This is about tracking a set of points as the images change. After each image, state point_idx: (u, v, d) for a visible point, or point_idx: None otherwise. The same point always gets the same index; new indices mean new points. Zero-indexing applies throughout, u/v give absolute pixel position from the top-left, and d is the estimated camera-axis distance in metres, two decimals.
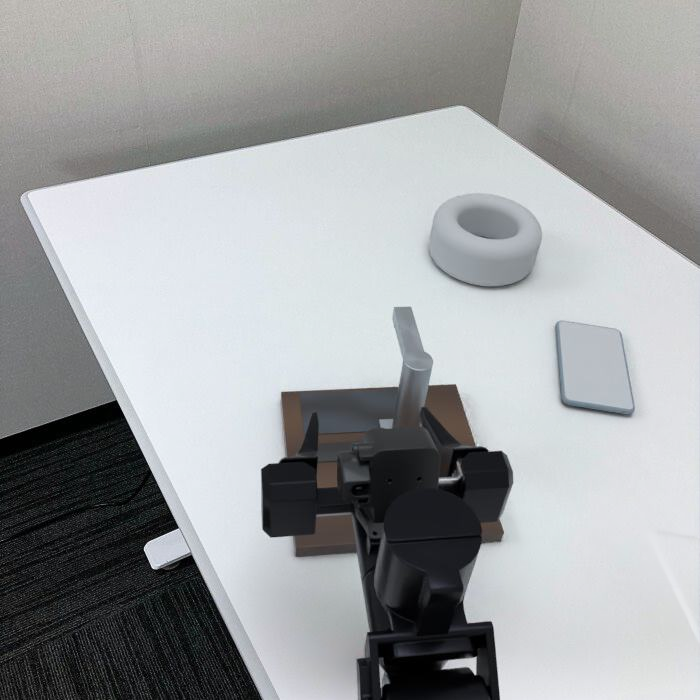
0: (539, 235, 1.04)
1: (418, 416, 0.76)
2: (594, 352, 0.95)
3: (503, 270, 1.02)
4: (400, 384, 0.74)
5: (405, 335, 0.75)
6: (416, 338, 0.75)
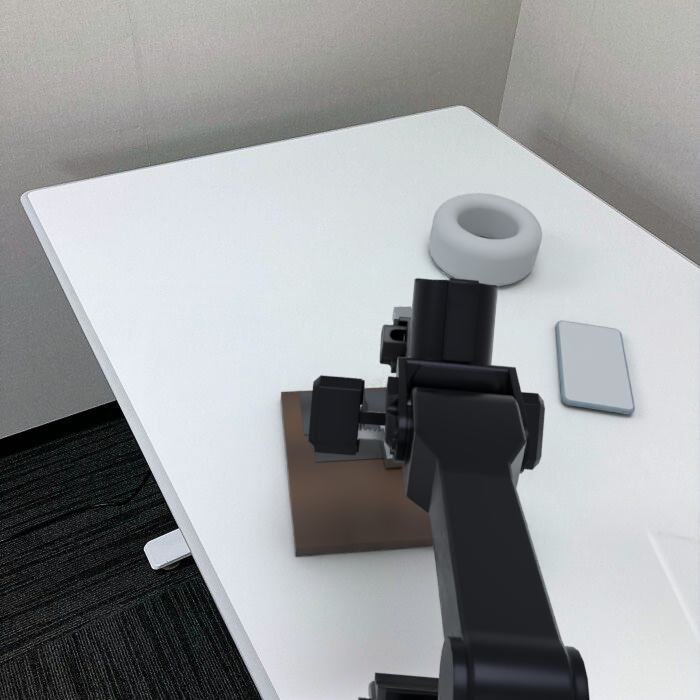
0: (539, 235, 1.04)
1: None
2: (594, 352, 0.95)
3: (503, 270, 1.02)
4: None
5: None
6: None
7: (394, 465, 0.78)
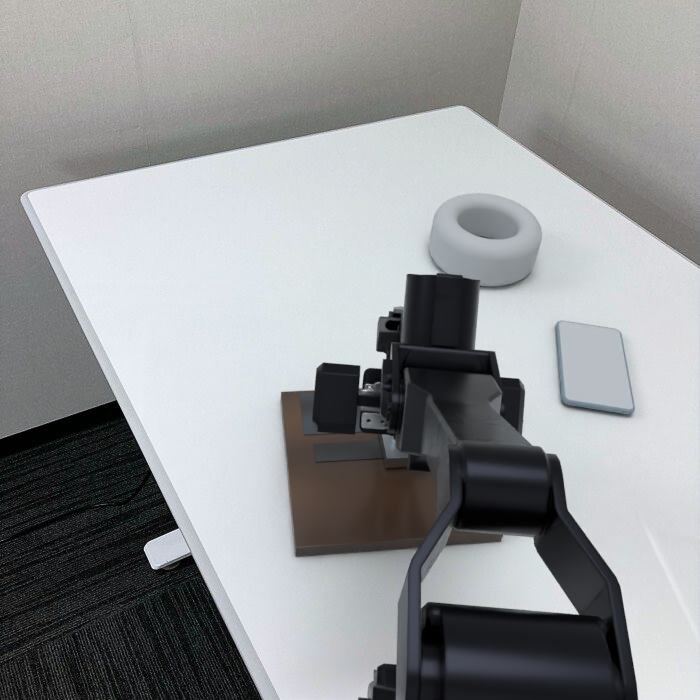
0: (539, 235, 1.04)
1: None
2: (594, 352, 0.95)
3: (503, 270, 1.02)
4: None
5: None
6: None
7: (394, 465, 0.78)
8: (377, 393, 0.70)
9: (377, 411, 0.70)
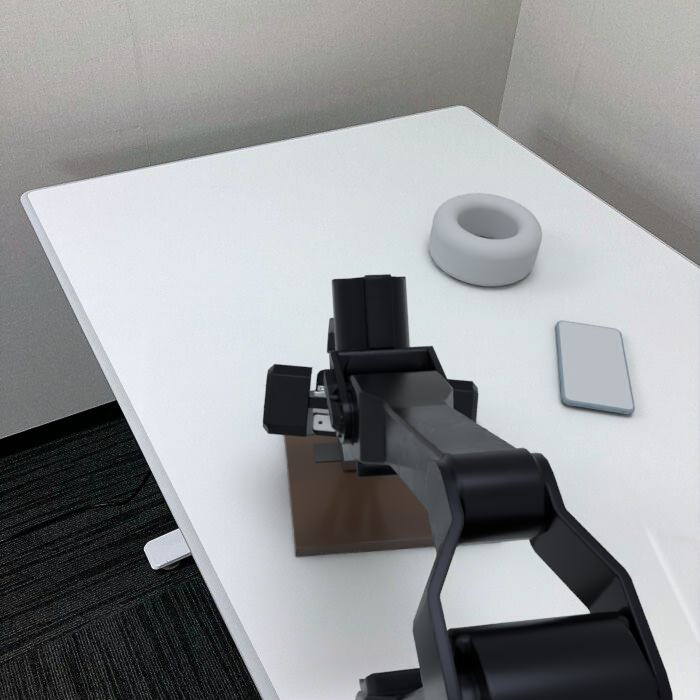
0: (539, 235, 1.04)
1: None
2: (594, 352, 0.95)
3: (503, 270, 1.02)
4: None
5: None
6: None
7: (352, 467, 0.78)
8: None
9: None
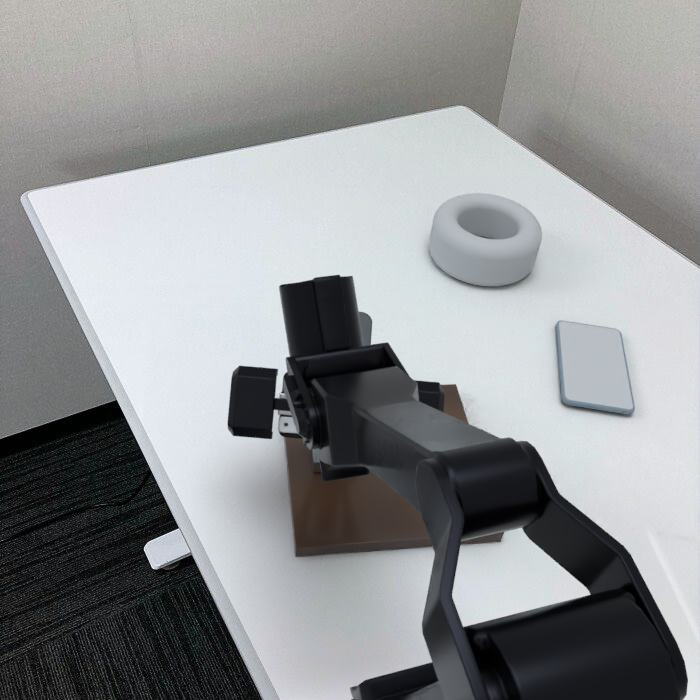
0: (539, 235, 1.04)
1: None
2: (594, 352, 0.95)
3: (503, 270, 1.02)
4: None
5: None
6: None
7: None
8: None
9: None
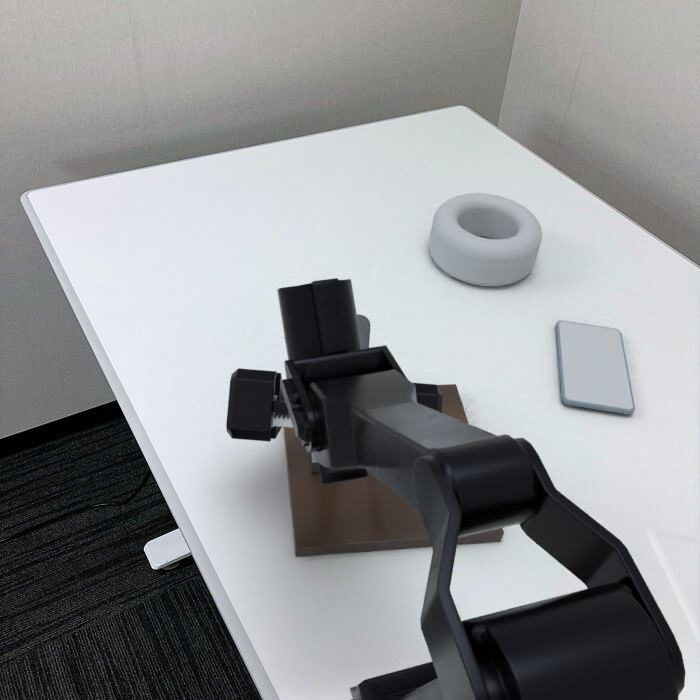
0: (539, 235, 1.04)
1: None
2: (594, 352, 0.95)
3: (503, 270, 1.02)
4: None
5: None
6: None
7: None
8: None
9: None
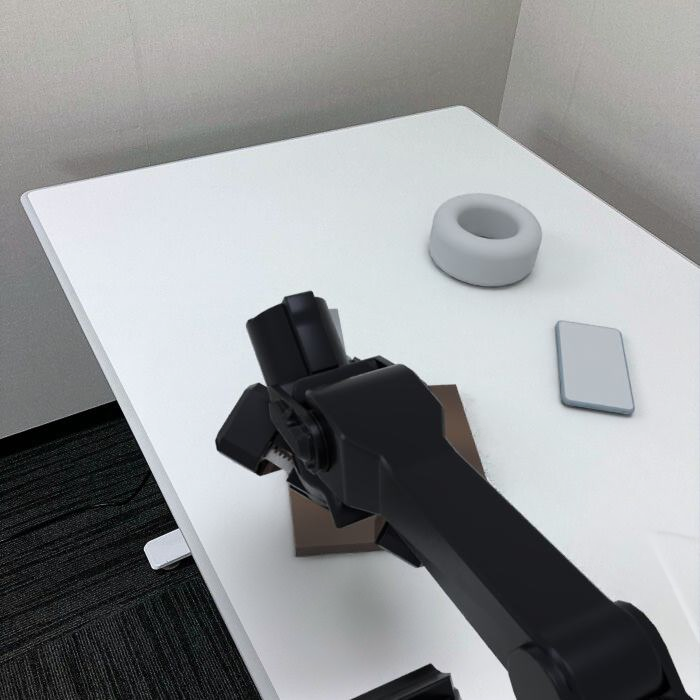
0: (539, 235, 1.04)
1: None
2: (594, 352, 0.95)
3: (503, 270, 1.02)
4: None
5: None
6: None
7: None
8: None
9: None
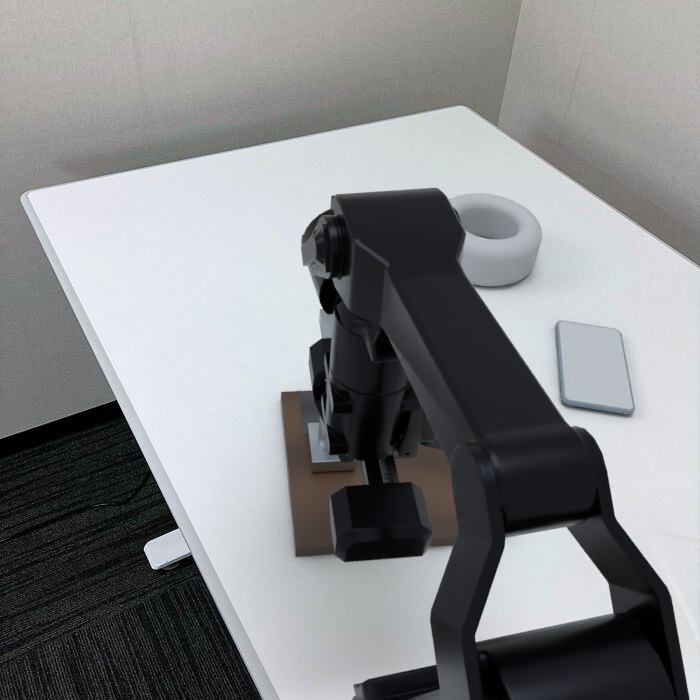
0: (539, 235, 1.04)
1: None
2: (594, 352, 0.95)
3: (503, 270, 1.02)
4: None
5: None
6: None
7: (320, 469, 0.77)
8: None
9: None
